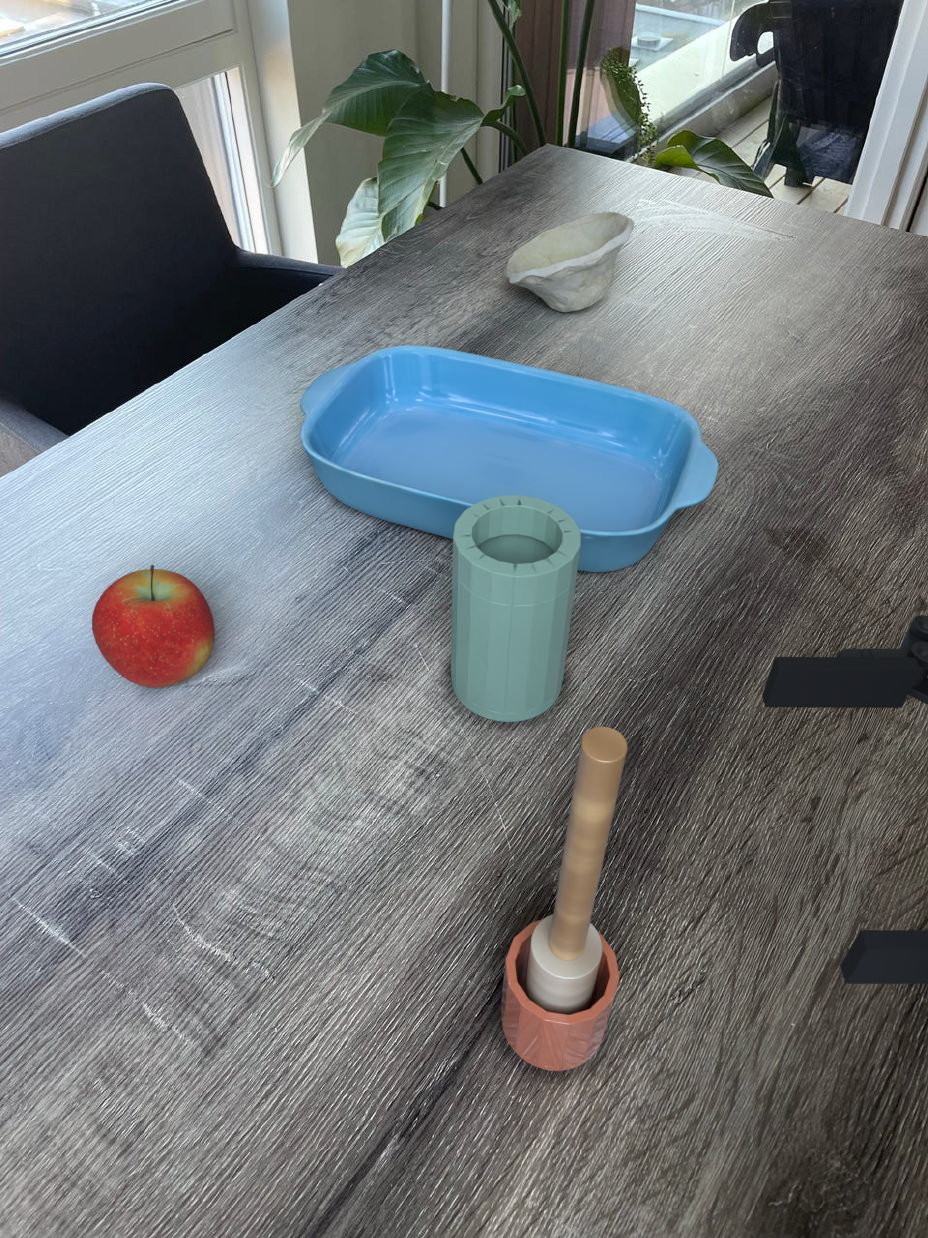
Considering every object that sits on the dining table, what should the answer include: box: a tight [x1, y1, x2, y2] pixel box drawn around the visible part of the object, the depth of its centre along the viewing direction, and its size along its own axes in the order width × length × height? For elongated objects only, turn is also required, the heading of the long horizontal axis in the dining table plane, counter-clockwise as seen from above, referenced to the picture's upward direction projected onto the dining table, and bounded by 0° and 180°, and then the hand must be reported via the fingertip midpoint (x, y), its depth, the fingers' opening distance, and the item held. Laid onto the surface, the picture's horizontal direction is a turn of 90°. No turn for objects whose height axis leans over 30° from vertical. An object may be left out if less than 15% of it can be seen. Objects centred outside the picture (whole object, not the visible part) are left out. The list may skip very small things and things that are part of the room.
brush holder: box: [500, 919, 620, 1072], centre depth 54 cm, size 6×6×6 cm
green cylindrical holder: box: [450, 495, 581, 723], centre depth 69 cm, size 8×8×14 cm
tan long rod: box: [524, 726, 628, 1015], centre depth 47 cm, size 4×4×24 cm
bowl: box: [503, 211, 635, 313], centre depth 114 cm, size 15×14×10 cm
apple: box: [91, 564, 216, 689], centre depth 71 cm, size 8×8×10 cm
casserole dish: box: [299, 344, 719, 573], centre depth 88 cm, size 37×22×7 cm, turn 70°
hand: (805, 804), depth 42 cm, fingers open, 13 cm apart
